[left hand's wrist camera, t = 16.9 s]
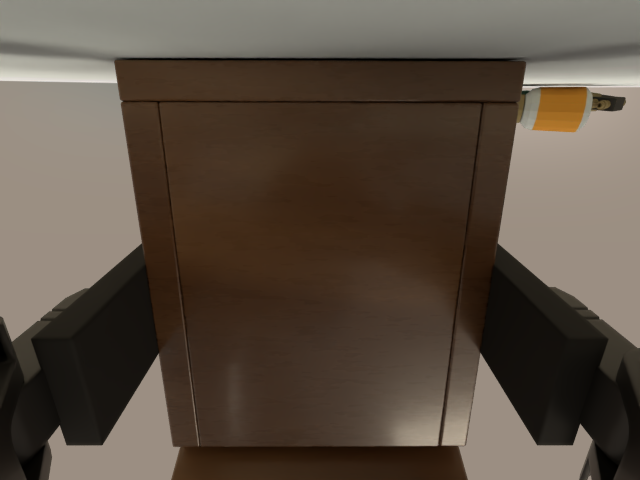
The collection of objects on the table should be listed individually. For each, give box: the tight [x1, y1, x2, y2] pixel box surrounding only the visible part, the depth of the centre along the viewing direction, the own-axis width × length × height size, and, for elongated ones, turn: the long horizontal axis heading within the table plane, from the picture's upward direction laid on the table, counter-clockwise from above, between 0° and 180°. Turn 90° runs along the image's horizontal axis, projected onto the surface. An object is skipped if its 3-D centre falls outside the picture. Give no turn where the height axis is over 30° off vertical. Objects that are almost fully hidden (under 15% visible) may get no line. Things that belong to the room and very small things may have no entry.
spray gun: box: [516, 87, 626, 132], centre depth 43 cm, size 4×17×15 cm
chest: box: [114, 60, 526, 447], centre depth 18 cm, size 18×9×11 cm, turn 0°
